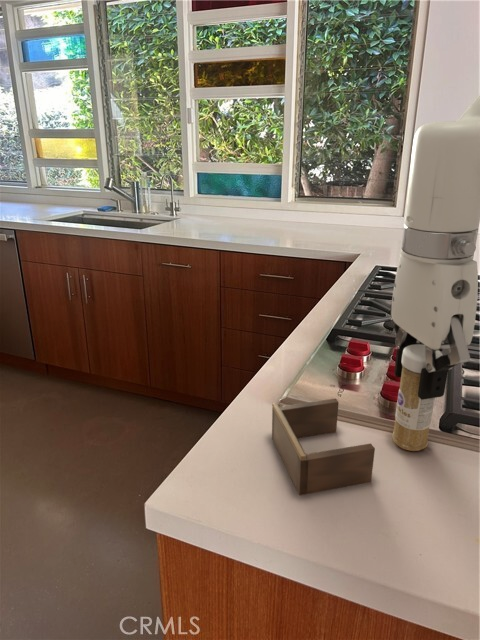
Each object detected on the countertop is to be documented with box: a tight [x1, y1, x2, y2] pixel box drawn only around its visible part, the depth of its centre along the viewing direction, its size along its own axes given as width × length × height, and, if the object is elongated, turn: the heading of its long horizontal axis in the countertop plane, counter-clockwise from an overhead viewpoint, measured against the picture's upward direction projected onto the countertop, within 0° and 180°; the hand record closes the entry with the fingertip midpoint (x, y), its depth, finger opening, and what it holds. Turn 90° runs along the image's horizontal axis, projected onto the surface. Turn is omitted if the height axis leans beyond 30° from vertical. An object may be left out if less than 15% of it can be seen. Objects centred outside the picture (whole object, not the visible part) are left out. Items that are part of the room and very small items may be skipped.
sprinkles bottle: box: [391, 343, 442, 452], centre depth 59 cm, size 5×5×14 cm
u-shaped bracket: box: [271, 398, 376, 496], centre depth 58 cm, size 9×11×6 cm
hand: (417, 384), depth 58 cm, fingers closed on sprinkles bottle, 4 cm apart
